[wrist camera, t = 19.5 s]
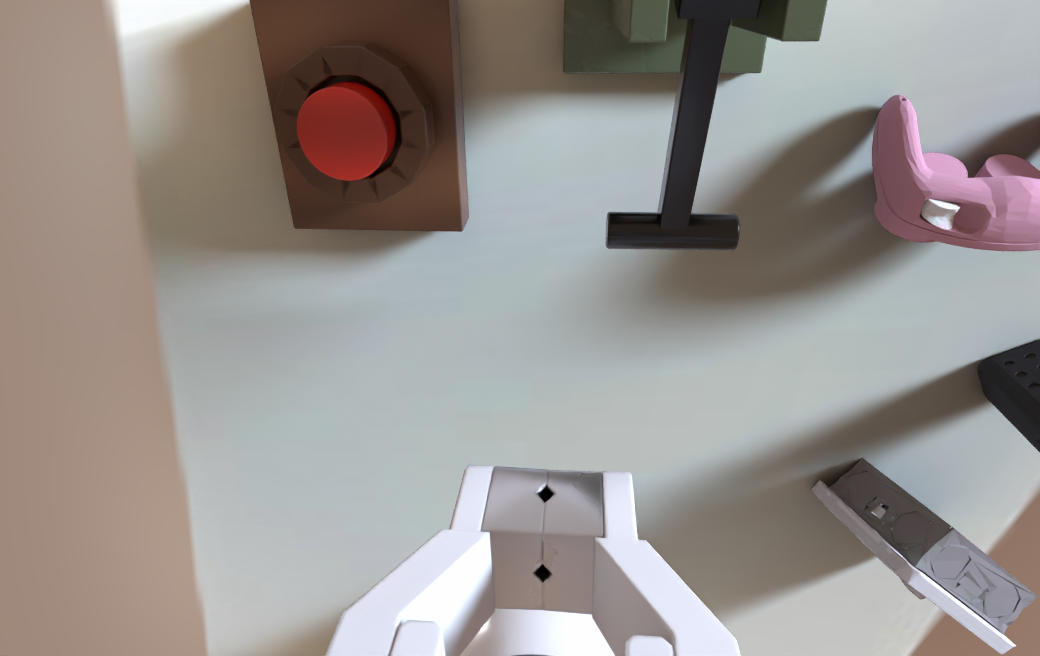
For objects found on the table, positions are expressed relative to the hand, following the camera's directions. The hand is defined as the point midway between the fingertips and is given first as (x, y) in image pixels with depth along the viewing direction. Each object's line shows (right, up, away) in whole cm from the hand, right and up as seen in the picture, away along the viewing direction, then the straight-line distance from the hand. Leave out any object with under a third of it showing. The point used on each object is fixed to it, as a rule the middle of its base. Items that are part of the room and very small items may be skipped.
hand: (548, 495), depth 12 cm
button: (-8, +12, +17) cm, 23 cm away
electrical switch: (+23, -8, +30) cm, 39 cm away
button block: (-8, +14, +20) cm, 26 cm away
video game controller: (+21, +11, +19) cm, 31 cm away
